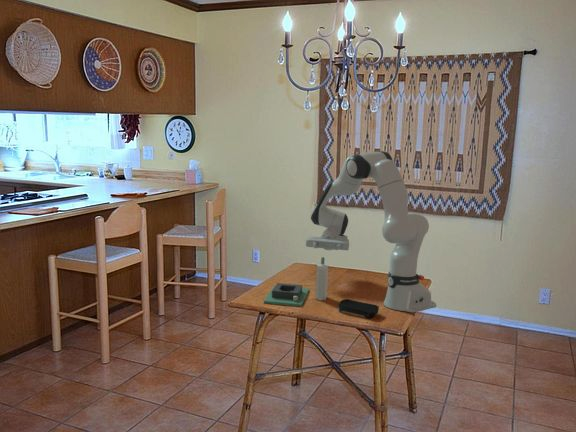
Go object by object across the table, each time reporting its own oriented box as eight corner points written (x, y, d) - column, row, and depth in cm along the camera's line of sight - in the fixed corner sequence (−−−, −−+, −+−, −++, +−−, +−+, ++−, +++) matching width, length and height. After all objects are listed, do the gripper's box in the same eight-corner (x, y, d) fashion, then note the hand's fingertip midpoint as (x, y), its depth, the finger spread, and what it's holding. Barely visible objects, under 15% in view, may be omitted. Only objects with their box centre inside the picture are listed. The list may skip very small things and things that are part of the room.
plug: (316, 295, 231) (318, 255, 228) (326, 296, 230) (328, 256, 227) (315, 299, 226) (316, 258, 223) (325, 300, 225) (327, 259, 222)
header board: (274, 287, 241) (274, 279, 240) (308, 290, 238) (309, 282, 238) (263, 303, 220) (263, 294, 219) (301, 306, 217) (301, 297, 216)
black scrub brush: (380, 314, 212) (380, 306, 211) (372, 321, 204) (372, 312, 204) (344, 306, 220) (344, 298, 219) (334, 312, 213) (335, 303, 212)
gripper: (308, 232, 252) (303, 238, 238) (350, 236, 248) (348, 242, 235) (307, 245, 253) (302, 252, 239) (349, 248, 249) (347, 256, 236)
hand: (325, 247), depth 237 cm, fingers open, 8 cm apart
